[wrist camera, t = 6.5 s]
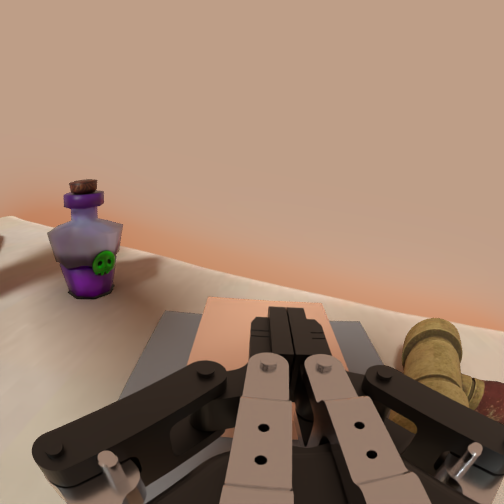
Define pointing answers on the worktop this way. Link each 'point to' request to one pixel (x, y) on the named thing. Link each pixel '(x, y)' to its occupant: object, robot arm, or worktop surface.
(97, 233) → the potion bottle
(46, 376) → the worktop surface
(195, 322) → the mat
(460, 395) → the gavel
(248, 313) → the tile
